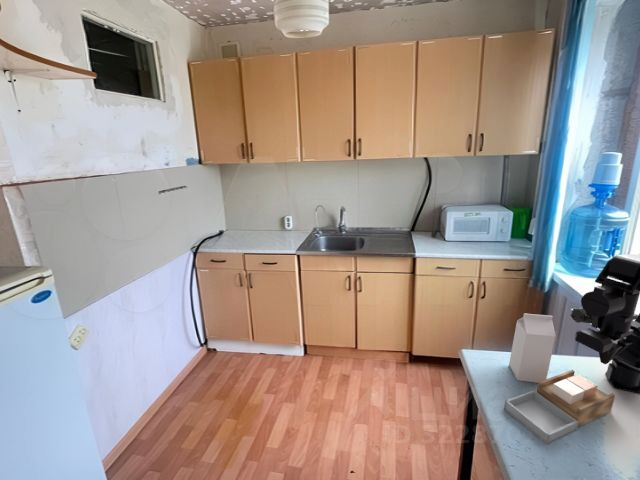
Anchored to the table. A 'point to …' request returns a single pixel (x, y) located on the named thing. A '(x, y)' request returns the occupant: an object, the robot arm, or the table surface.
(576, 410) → the wooden box
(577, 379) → the tile
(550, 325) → the milk carton
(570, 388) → the tile
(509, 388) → the table surface
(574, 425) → the tray
